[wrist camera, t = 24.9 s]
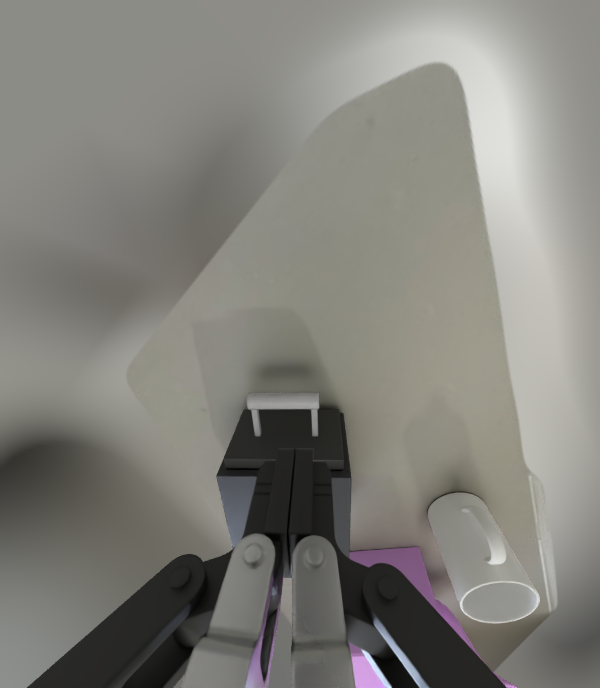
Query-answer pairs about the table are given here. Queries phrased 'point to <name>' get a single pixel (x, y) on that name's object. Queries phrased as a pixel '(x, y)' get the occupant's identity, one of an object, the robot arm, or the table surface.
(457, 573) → the mug
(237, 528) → the cabinet
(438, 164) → the table surface
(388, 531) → the table surface
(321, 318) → the table surface
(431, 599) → the teapot
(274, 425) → the drawer
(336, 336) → the table surface
